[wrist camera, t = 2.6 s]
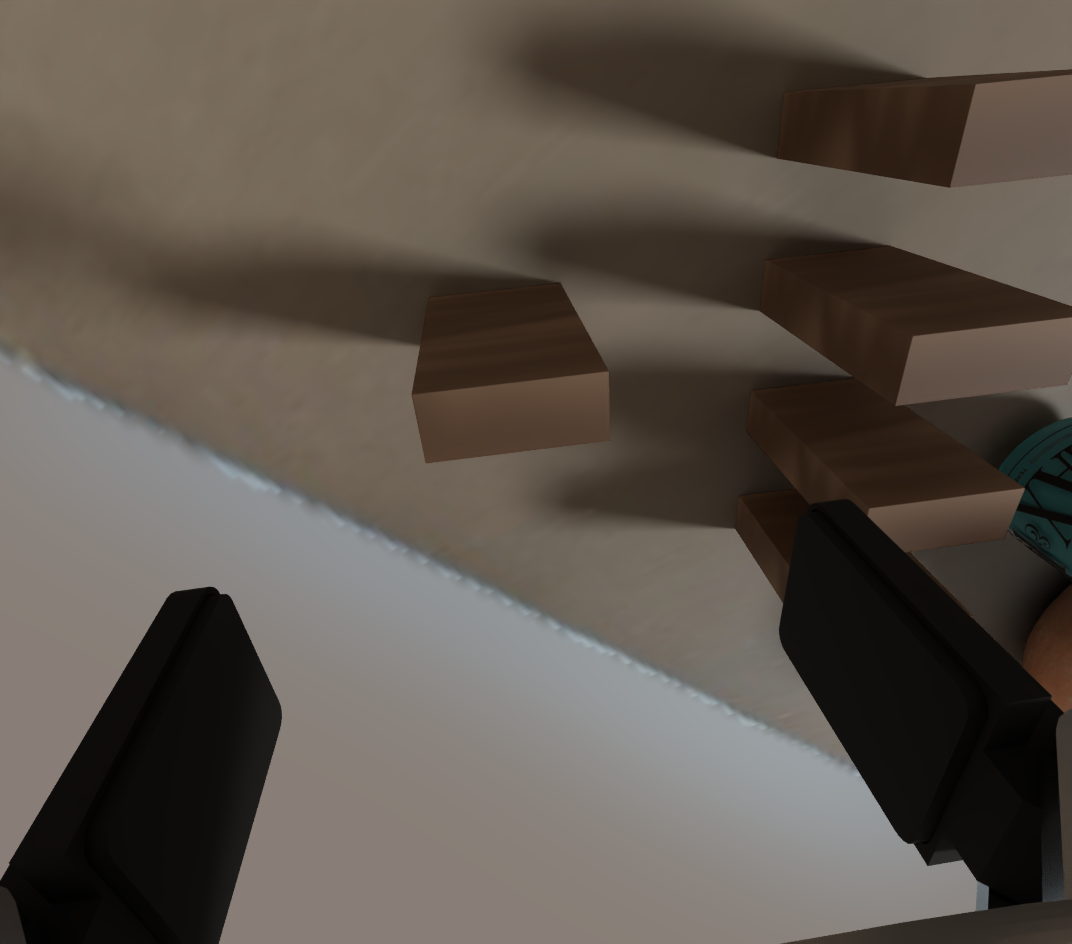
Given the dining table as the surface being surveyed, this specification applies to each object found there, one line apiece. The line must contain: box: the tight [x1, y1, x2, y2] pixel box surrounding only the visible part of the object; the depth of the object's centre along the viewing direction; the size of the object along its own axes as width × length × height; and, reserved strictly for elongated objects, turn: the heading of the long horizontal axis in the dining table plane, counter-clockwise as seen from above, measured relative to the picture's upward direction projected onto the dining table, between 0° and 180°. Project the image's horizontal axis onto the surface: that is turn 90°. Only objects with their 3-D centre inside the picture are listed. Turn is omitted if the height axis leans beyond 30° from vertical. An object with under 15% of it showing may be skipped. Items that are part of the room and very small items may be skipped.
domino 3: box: [760, 246, 1072, 406], centre depth 20 cm, size 2×5×9 cm, turn 95°
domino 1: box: [412, 283, 610, 463], centre depth 20 cm, size 2×5×9 cm, turn 95°
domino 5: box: [735, 488, 973, 617], centre depth 26 cm, size 2×5×9 cm, turn 95°
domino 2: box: [777, 69, 1072, 188], centre depth 17 cm, size 2×5×9 cm, turn 95°
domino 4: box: [746, 378, 1025, 552], centre depth 23 cm, size 2×5×9 cm, turn 95°
